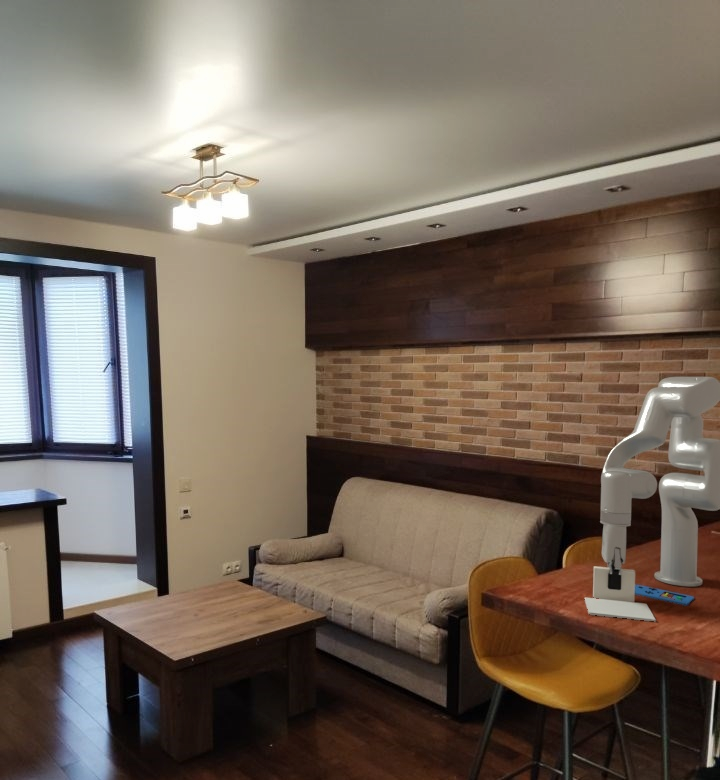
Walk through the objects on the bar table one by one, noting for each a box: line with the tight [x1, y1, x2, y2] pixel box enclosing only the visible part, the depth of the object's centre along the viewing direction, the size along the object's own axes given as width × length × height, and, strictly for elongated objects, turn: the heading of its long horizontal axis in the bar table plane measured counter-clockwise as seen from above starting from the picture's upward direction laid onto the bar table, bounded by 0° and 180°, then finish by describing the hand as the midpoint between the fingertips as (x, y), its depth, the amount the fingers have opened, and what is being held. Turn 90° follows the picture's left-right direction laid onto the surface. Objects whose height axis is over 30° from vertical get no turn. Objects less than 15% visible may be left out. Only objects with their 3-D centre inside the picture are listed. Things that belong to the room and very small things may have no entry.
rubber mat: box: [584, 597, 657, 623], centre depth 158 cm, size 12×15×1 cm
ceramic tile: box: [592, 565, 636, 602], centre depth 166 cm, size 2×10×8 cm, turn 75°
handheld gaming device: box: [635, 584, 695, 606], centre depth 171 cm, size 8×1×15 cm
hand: (613, 587), depth 166 cm, fingers closed on ceramic tile, 2 cm apart
